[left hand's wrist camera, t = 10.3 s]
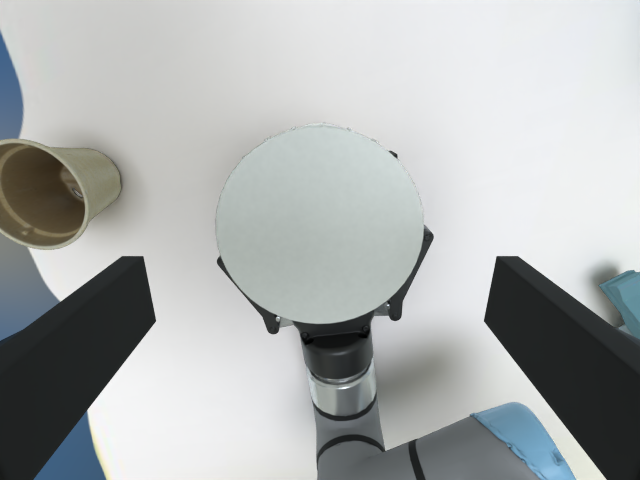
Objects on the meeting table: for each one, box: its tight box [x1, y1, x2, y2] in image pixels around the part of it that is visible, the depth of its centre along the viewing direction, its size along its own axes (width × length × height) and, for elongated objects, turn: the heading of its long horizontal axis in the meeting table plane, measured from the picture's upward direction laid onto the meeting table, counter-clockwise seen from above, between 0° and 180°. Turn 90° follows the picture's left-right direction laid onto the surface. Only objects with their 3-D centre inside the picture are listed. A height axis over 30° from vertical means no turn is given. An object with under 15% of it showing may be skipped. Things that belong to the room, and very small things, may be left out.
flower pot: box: [0, 139, 121, 250], centre depth 33 cm, size 9×9×9 cm
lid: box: [216, 123, 424, 324], centre depth 19 cm, size 11×11×2 cm
